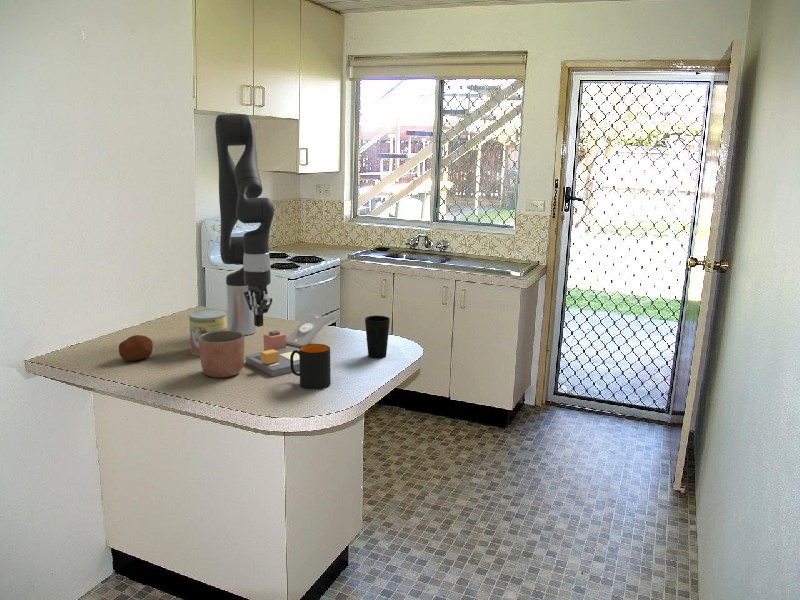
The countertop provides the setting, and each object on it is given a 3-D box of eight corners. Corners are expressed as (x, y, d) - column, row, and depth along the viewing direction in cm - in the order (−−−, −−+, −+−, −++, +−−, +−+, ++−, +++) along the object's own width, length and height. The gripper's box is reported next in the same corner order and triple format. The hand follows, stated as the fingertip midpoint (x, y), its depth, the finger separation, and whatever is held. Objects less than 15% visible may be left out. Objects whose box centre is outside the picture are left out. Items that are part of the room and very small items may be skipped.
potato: (112, 361, 200) (110, 337, 198) (141, 352, 209) (139, 329, 208) (131, 366, 196) (129, 341, 194) (160, 357, 205) (159, 333, 204)
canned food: (183, 354, 208) (181, 316, 206) (203, 344, 219) (201, 308, 216) (216, 357, 205) (214, 319, 203) (234, 347, 216) (233, 311, 213)
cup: (359, 355, 209) (359, 318, 206) (377, 350, 214) (377, 314, 212) (377, 361, 204) (377, 323, 201) (394, 356, 209) (395, 318, 206)
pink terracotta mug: (223, 363, 200) (221, 328, 197) (254, 371, 194) (253, 334, 191) (190, 375, 189) (188, 338, 187) (223, 383, 183) (221, 345, 181)
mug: (299, 375, 190) (298, 340, 188) (336, 382, 185) (335, 346, 183) (282, 384, 183) (281, 348, 180) (320, 391, 178) (319, 354, 176)
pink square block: (264, 352, 211) (263, 331, 210) (278, 349, 214) (277, 328, 213) (272, 356, 208) (271, 334, 206) (286, 353, 211) (285, 332, 209)
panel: (245, 362, 201) (245, 355, 200) (292, 352, 211) (291, 346, 210) (272, 376, 189) (272, 369, 188) (320, 365, 199) (320, 358, 199)
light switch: (282, 339, 219) (308, 311, 228) (288, 352, 223) (313, 324, 232) (302, 343, 215) (327, 314, 224) (308, 357, 218) (333, 328, 227)
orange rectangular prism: (261, 361, 194) (260, 351, 194) (273, 359, 197) (273, 349, 196) (266, 364, 192) (265, 354, 191) (278, 361, 195) (278, 351, 194)
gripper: (234, 265, 195) (236, 323, 200) (256, 273, 186) (258, 333, 190) (257, 262, 200) (259, 318, 204) (280, 270, 190) (281, 328, 195)
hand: (258, 325), depth 197 cm, fingers closed
